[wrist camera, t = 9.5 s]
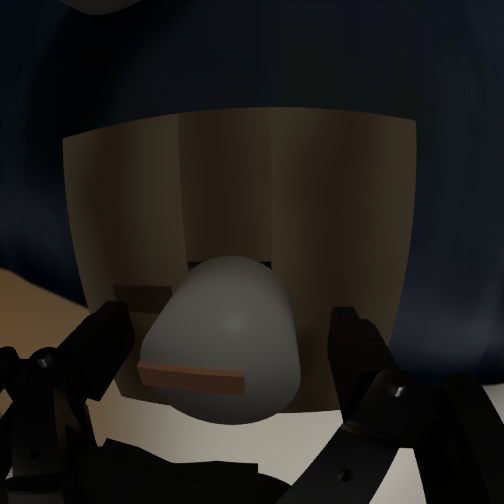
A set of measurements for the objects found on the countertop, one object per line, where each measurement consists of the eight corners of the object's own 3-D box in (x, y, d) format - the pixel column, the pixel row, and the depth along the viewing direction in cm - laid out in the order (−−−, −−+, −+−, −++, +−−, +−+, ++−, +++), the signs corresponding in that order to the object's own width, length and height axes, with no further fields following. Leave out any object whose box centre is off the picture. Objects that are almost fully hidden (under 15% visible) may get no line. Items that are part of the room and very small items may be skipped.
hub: (388, 126, 12) (418, 120, 9) (357, 375, 17) (368, 409, 14) (95, 139, 13) (59, 138, 10) (136, 369, 18) (120, 399, 15)
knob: (287, 229, 14) (308, 316, 6) (285, 311, 16) (294, 431, 8) (195, 230, 14) (119, 309, 7) (202, 310, 16) (157, 421, 8)
